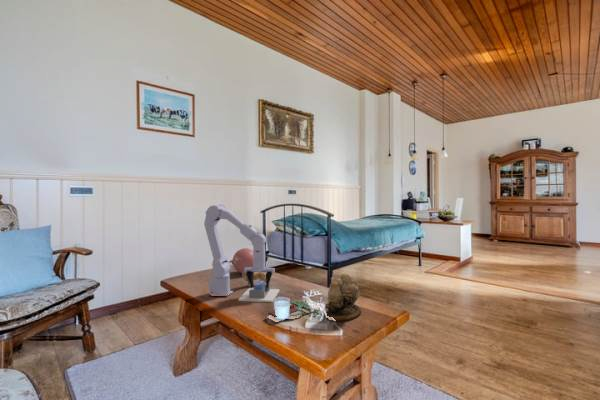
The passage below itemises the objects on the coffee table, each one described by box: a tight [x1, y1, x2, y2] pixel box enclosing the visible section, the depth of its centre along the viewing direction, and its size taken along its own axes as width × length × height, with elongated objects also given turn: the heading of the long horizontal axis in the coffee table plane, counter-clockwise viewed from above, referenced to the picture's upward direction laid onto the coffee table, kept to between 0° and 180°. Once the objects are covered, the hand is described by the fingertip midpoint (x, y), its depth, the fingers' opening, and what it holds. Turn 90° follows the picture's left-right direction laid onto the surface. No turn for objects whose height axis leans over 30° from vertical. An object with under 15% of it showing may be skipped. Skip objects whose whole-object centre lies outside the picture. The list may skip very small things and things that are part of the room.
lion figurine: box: [241, 271, 266, 288], centre depth 162 cm, size 15×5×9 cm, turn 124°
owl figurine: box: [324, 272, 362, 323], centre depth 122 cm, size 18×12×17 cm, turn 131°
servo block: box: [253, 280, 266, 291], centre depth 146 cm, size 4×12×5 cm, turn 172°
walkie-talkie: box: [267, 303, 304, 317], centre depth 122 cm, size 9×4×20 cm
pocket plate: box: [238, 283, 280, 303], centre depth 146 cm, size 16×16×4 cm
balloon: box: [228, 247, 254, 274], centre depth 185 cm, size 15×20×15 cm
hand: (259, 287), depth 146 cm, fingers open, 7 cm apart
